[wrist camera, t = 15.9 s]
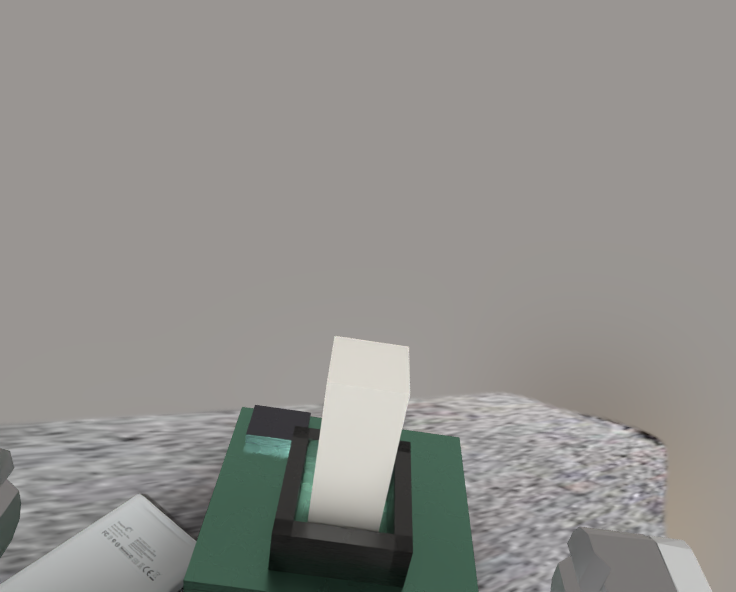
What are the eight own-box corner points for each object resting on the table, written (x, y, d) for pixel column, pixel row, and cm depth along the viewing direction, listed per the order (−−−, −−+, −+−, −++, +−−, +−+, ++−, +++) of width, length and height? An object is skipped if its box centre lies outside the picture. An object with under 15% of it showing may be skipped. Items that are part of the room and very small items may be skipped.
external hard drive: (-32, 621, 38) (139, 504, 47) (41, 713, 35) (212, 567, 44) (-37, 605, 37) (138, 490, 47) (37, 698, 34) (212, 552, 43)
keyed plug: (303, 547, 35) (326, 382, 29) (313, 483, 39) (335, 327, 33) (373, 556, 35) (410, 394, 29) (375, 491, 39) (408, 338, 34)
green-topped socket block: (184, 674, 37) (183, 543, 31) (237, 493, 49) (244, 374, 43) (447, 707, 37) (495, 584, 31) (435, 520, 50) (468, 406, 44)
